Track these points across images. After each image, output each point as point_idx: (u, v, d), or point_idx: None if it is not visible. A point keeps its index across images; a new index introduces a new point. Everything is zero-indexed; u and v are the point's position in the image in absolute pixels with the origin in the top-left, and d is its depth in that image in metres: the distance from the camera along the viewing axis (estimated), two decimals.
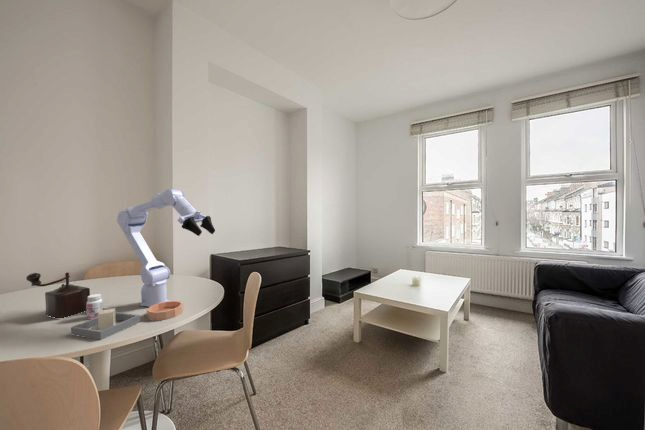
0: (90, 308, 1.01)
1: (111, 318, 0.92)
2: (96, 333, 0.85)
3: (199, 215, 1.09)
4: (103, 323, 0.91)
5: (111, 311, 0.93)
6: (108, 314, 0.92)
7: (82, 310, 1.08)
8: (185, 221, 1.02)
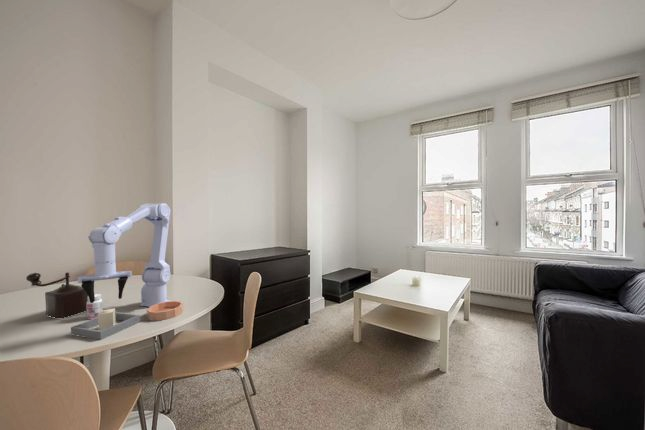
0: (90, 308, 1.01)
1: (111, 318, 0.92)
2: (96, 333, 0.85)
3: None
4: (103, 323, 0.91)
5: (111, 311, 0.93)
6: (108, 314, 0.92)
7: (82, 310, 1.08)
8: None
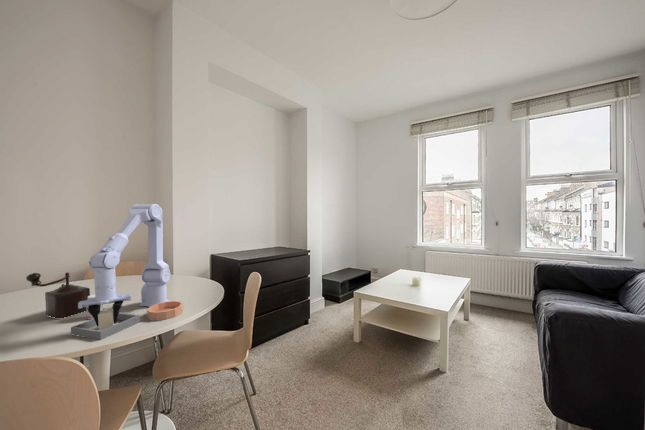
0: None
1: (111, 318, 0.92)
2: (96, 333, 0.85)
3: None
4: (103, 323, 0.91)
5: (111, 311, 0.93)
6: (108, 314, 0.92)
7: (82, 310, 1.08)
8: None
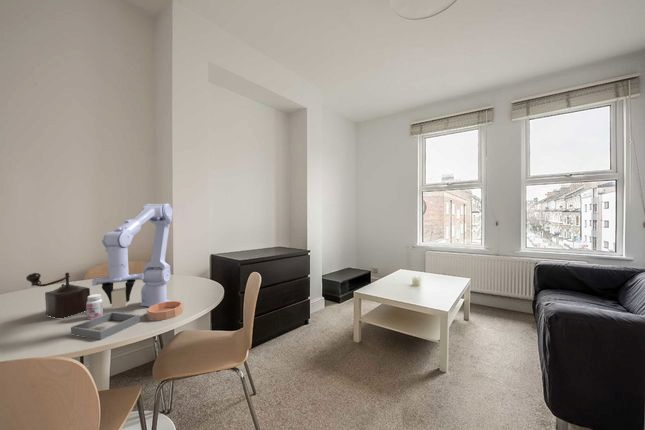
0: (90, 308, 1.01)
1: (124, 296, 0.94)
2: (96, 333, 0.85)
3: None
4: (116, 300, 0.93)
5: (124, 289, 0.95)
6: (121, 292, 0.94)
7: (82, 310, 1.08)
8: None
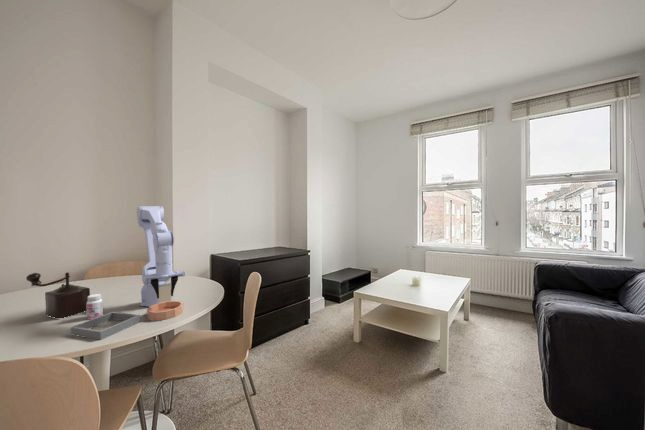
0: (90, 308, 1.01)
1: (169, 291, 1.04)
2: (96, 333, 0.85)
3: None
4: (162, 295, 1.03)
5: (169, 285, 1.04)
6: (167, 287, 1.03)
7: (82, 310, 1.08)
8: None
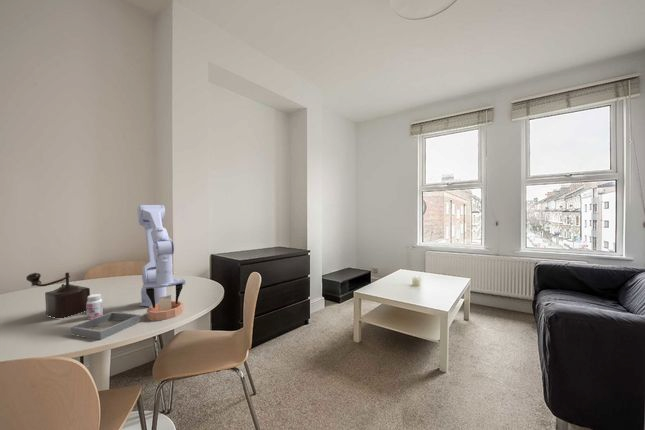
0: (90, 308, 1.01)
1: (169, 303, 1.04)
2: (96, 333, 0.85)
3: None
4: (163, 307, 1.03)
5: (169, 297, 1.05)
6: (167, 300, 1.03)
7: (82, 310, 1.08)
8: None
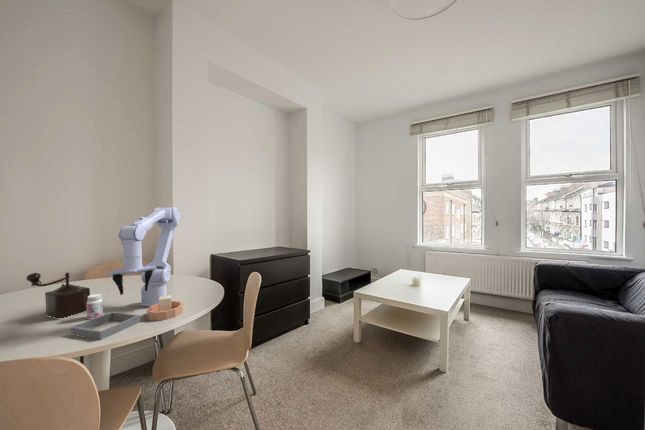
0: (90, 308, 1.01)
1: (169, 303, 1.04)
2: (96, 333, 0.85)
3: None
4: (163, 307, 1.03)
5: (169, 297, 1.05)
6: (167, 300, 1.03)
7: (82, 310, 1.08)
8: None
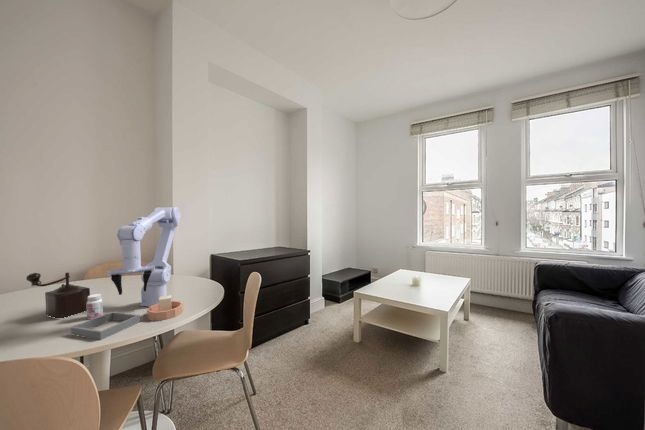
0: (90, 308, 1.01)
1: (169, 303, 1.04)
2: (96, 333, 0.85)
3: None
4: (163, 307, 1.03)
5: (169, 297, 1.05)
6: (167, 300, 1.03)
7: (82, 310, 1.08)
8: None
